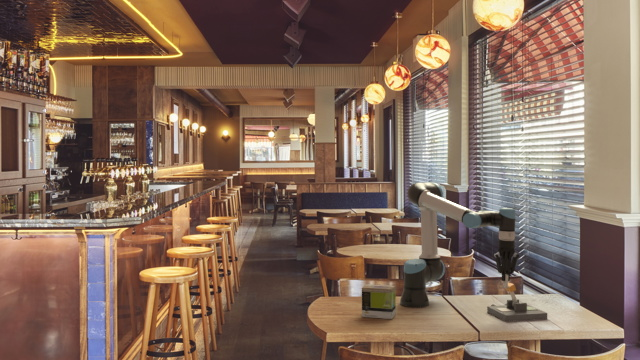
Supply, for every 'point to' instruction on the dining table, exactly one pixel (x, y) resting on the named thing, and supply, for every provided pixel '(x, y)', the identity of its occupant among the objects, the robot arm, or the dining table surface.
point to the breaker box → (516, 312)
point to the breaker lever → (512, 292)
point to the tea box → (378, 301)
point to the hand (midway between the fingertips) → (505, 287)
